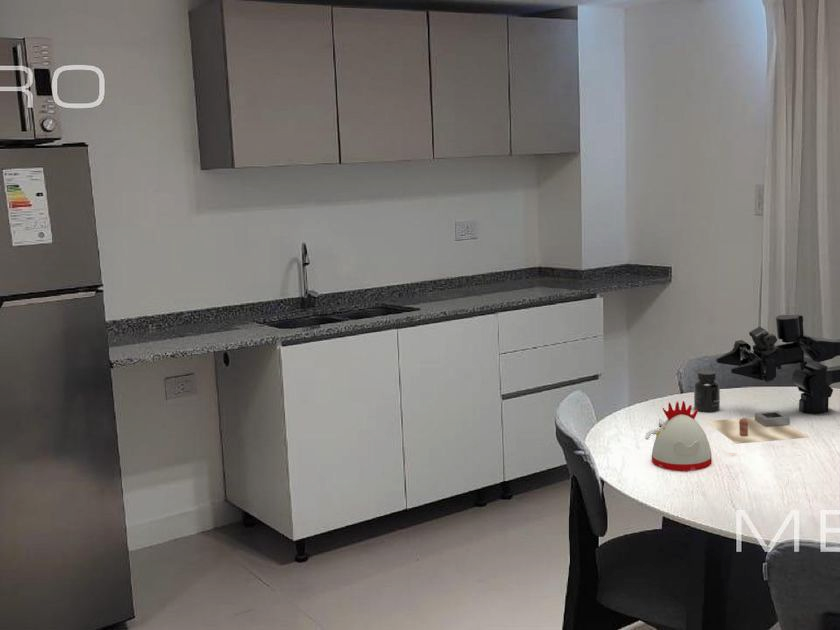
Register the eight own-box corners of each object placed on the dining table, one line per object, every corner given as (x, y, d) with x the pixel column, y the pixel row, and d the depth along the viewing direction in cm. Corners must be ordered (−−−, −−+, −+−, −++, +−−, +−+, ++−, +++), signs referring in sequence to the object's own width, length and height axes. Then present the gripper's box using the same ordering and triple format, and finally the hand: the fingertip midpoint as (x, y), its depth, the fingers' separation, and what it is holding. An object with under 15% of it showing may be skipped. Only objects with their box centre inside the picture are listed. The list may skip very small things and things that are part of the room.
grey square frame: (778, 418, 254) (778, 411, 253) (789, 425, 247) (789, 417, 247) (754, 420, 253) (754, 413, 253) (765, 427, 247) (765, 419, 247)
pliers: (644, 435, 248) (647, 418, 262) (645, 440, 248) (647, 424, 262) (684, 435, 245) (684, 419, 259) (684, 441, 245) (684, 424, 260)
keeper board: (774, 420, 257) (774, 399, 256) (810, 442, 237) (810, 420, 236) (705, 426, 255) (705, 405, 254) (735, 449, 236) (735, 426, 235)
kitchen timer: (646, 453, 237) (645, 395, 234) (702, 451, 236) (702, 392, 234) (659, 472, 223) (657, 410, 221) (718, 469, 223) (717, 407, 220)
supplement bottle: (721, 417, 263) (720, 375, 260) (695, 417, 264) (694, 375, 262) (718, 410, 269) (718, 369, 267) (693, 411, 271) (692, 369, 269)
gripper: (762, 318, 261) (707, 328, 260) (795, 336, 243) (737, 346, 242) (764, 356, 264) (710, 366, 263) (797, 377, 246) (740, 387, 245)
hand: (724, 365), depth 253 cm, fingers open, 9 cm apart
